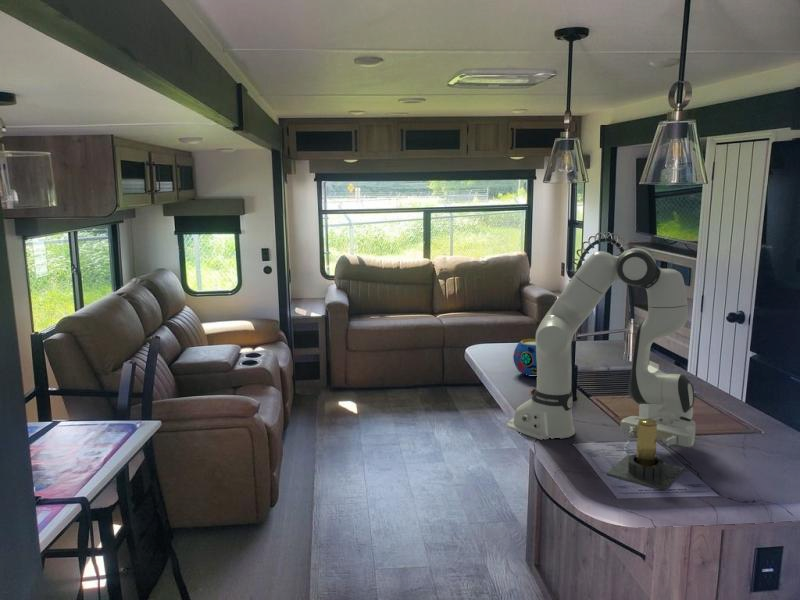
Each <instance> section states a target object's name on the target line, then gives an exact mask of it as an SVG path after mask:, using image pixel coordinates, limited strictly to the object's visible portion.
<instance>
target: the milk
mask: <svg viewBox="0 0 800 600" xmlns="http://www.w3.org/2000/svg"><path fill="white" fill-rule="evenodd" d="M648 371H649V372H651V373H663V374H667V373H666V372H664V371H663V370H661V369H660V364H658V363H656V362H653V361H652V360H649V362H648ZM638 408H639V409H638V416H639V417H643V418H648V419H649V418H650V416H651V415H652V414H654V413H655V412H656V411H657V410H659V409H661V408H662V405H660V404H639V407H638Z"/></svg>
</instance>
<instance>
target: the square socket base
mask: <svg viewBox="0 0 800 600" xmlns="http://www.w3.org/2000/svg"><path fill="white" fill-rule="evenodd" d="M636 454H637V453H635V454H627V455H625V456H624V457H623V458H622V459H621V460H620V461H619V462H617V463H615V465H614V466H613V467H612V468H611V469H609V470H608V471H607V472H606V475H607V476H609V475H610V476H609V477H613V478H617V479H621V480H625V481H628V482H632V483H635V482H636V484H638V483H639V484H640V485H642V484H643V485H642V486H646V487H649V486H650V488H654V489H657V488H658V489H657V490H661V491H664V492H665V491H666V490H667V489H668V488H669V487H670V485H672V483H673V482H674V481H675V480H677V478H678V477H679V476H680V475H681V474H682V472H683V471H685V470H684V468H683V467H679V466H675V465H672V464H667V463H664V461H663V459H662V458H660V457H657V456H655V465H652V466H647V465H641V464H638V463H636Z"/></svg>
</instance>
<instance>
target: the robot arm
mask: <svg viewBox="0 0 800 600" xmlns="http://www.w3.org/2000/svg"><path fill="white" fill-rule="evenodd" d="M619 280H621V281H622V282H623V283H625V284H627V285H628V286H629V285H630V286H632V287H638V288H641V289H645V291H646V296H647V309H648V310H647V314H646V317H645V319H644V321H642V322H640V323H639V325H638V327H637V330H636V334H635V335H636V336H635V342H634V348H633V354H632V355H633V356H632V364H631V371H630V375H629V380H628V387H627V389H628V390H627V392H628V393H627V394H628V395H629V397H630V398H631V399H632V400H633V401H634V402H636V404H660V405H662V408H661V409H659V410H657V411H656V412H655V413H654V414H652V415H651V416H650V418H649V419H651V420H654V421H656V423H657V435H656V441H659V442H662V443H661V444H662V446H666V447H669V446H670V445H671V446H672V445H673V446H674V445H675V446H680V447H685V448H691V447H693V446H694V444H695V438H696V421H695V420H693V416H694V408H693V406H694V404H695V391H694V390H695V389H694V385H693V384H692V382H691V381H690V379H689V378H688V377H687V376H686V375H684V374H679V373H666V374H663V373H651V372H649V371H648V365H649V361H650V355H651V354H650V353H651V348H652V347H651V346H652V344H653V343H654V342H655V341H657V340H660V339H662V338H666V337H667V336H670V335H673V334H676V333H677V332H679V331H680V330H682V329H683V328H684V327H685V325H686V323H687V321H688V317H689V316H688V315H689V310H688V309H689V308H688V306H689V305H688V296H687V289H686V284H685V281H684V280H685V279H684V277H683V274H682V273H681V272H680V271H678V270H676V269H673V268H662V267H659V266H658V264H657V262H656V258H655V256H654V255H653V253H652V252H651V251H650V250H649V249H647V248H644V247H632V248H629V249H627V250H624V252H621V253H619V254H617V255H613V254H611V253H610V252H607V251H604V250H603V251H602V250H598V251H595V252H593V253H592V254H591V255H589V256H588V258H587V259H586V260H585V261H584V262H583V263H582V264H581V266H580V267H578V269H577V270H576V272H575V274H574V275H573V276H572V277H571V279H570V281H568V283H567V285H566V286H565V288H564V289H563V291H562V292H561V293H560V295H559V296H558V297H557V298H556V300H555V301H554V303H553V304H552V306H551V307H550V309H549V310H548V311H547V312H546V314H545V316H544V317H543V319H542V320H541V322H540V323H539V325H538V326H537V329H536V332H535V339H536V359H537V377H536V387H535V388H533V389H532V390H530V391H529V396H531V398H529V399H528V400H526V401H525V402H524V403H522V404H520V405H519V406H518V407H517V408H516V409H515V412H514V416H513V417H512V418H511V419H510V420H508V421H507V423H506V428H507V429H510V430H512V431H515V432H518V433H521V434H524V435H526V436H529V437H532V438H534V439H538V440H543V439H544V440H549V438H551V439H552V440H554V438H560V439H565V438H567V439H568V438H571V437H572V436H574V435H575V434H576V430H575V426H574V422H573V421H574V420H573V414H572V413H573V412H572V408H573V390H572V368H573V367H572V341H573V340H572V339H573V337H574V335H575V334H576V332H577V331H578V330H579V328H580V326H582V324H583V323H584V322H585V321H586V320H587V318H588V317H589V316H590V315H591V314H592V313H593V311H594V309H595V308H596V307H597V305H598V304H599V303H600V301H601V300H602V298H603V297H604V296H605V294H606V293H607V292H608V290H609V289H610V287H611V286H612V285H613V284H614V283H615V282H616V281H619ZM640 419H648V418H643V417H639V415H638V416H637V415H630V416H627V417H624V418H623V419H621V420H620V424H619V425H620V426H619V427H620V432H622V433H623V434H628V438H631V439H635V438H637V431H638V422H639V420H640Z"/></svg>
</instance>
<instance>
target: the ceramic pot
mask: <svg viewBox="0 0 800 600" xmlns="http://www.w3.org/2000/svg"><path fill="white" fill-rule="evenodd" d="M512 358H513V363H514V366H515V367H516V369H517V371H518V372H519V373H521V374H522V373H523V374H522V375H524V374H527V375H537V359H536V338H527V339H522V340H520V341H519V342H518V343H517V344H516V346H515V348H514V352H513V356H512Z"/></svg>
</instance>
